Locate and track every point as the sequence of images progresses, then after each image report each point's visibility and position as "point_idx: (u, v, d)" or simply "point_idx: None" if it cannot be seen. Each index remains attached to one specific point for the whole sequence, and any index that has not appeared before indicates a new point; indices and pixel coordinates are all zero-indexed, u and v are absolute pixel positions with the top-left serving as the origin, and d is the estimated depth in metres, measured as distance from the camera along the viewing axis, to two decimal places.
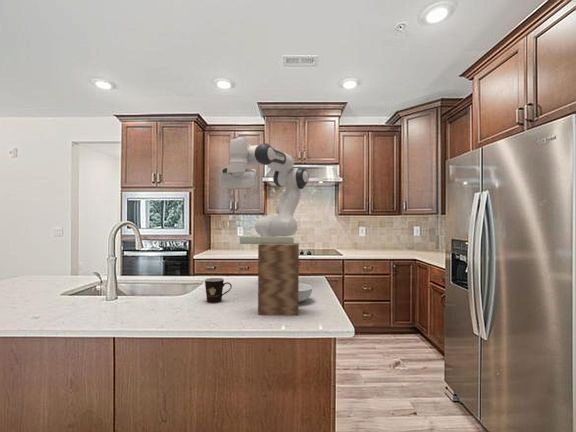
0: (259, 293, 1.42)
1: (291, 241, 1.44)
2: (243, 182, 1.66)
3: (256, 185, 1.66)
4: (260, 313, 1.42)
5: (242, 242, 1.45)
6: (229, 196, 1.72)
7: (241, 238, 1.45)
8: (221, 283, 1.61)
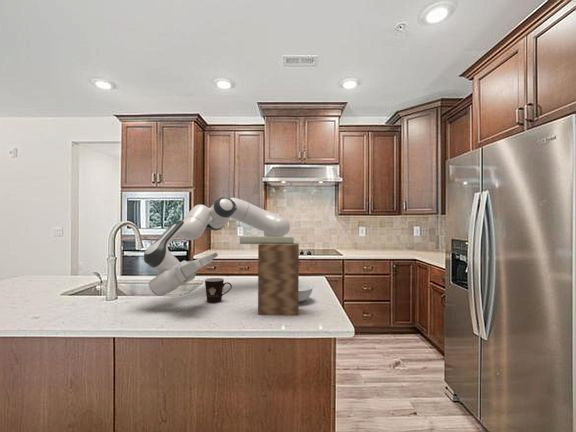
0: (259, 293, 1.42)
1: (291, 241, 1.44)
2: None
3: None
4: (260, 313, 1.42)
5: (242, 242, 1.45)
6: (207, 256, 1.43)
7: (241, 238, 1.45)
8: (221, 283, 1.61)
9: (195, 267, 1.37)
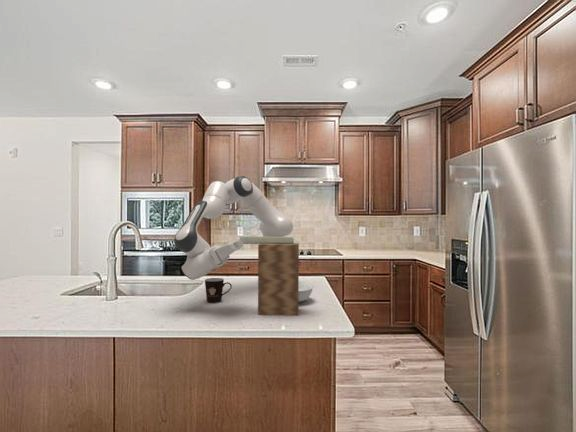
0: (259, 293, 1.42)
1: (291, 241, 1.44)
2: None
3: None
4: (260, 313, 1.42)
5: None
6: None
7: (241, 238, 1.45)
8: (221, 283, 1.61)
9: (231, 249, 1.37)
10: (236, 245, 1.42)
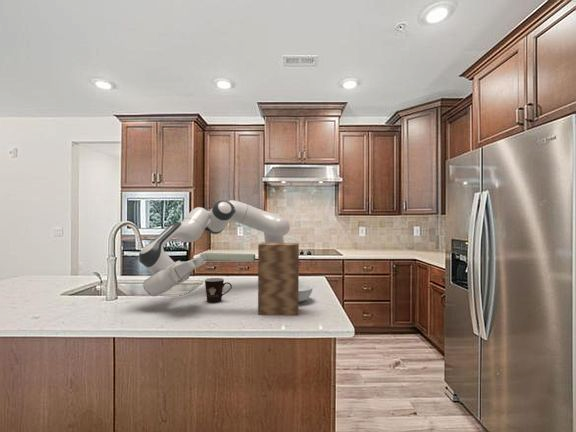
0: (259, 293, 1.42)
1: (251, 259, 1.44)
2: None
3: None
4: (260, 313, 1.42)
5: None
6: None
7: (202, 255, 1.45)
8: (221, 283, 1.61)
9: (189, 267, 1.37)
10: (196, 262, 1.43)
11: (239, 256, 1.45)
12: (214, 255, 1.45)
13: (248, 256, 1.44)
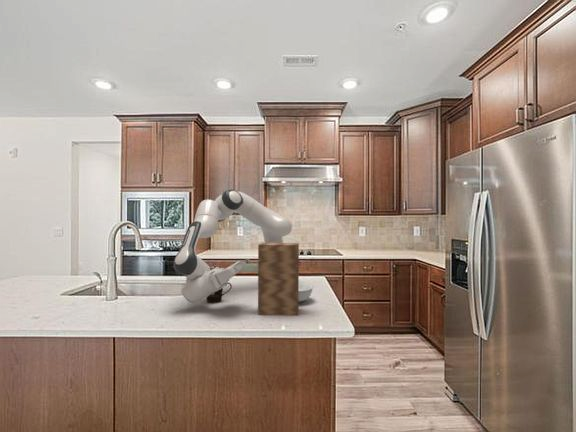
0: (259, 293, 1.42)
1: None
2: (231, 265, 1.51)
3: None
4: (260, 313, 1.42)
5: (242, 270, 1.45)
6: (241, 262, 1.42)
7: None
8: None
9: (231, 274, 1.37)
10: (235, 269, 1.40)
11: None
12: (253, 266, 1.44)
13: None
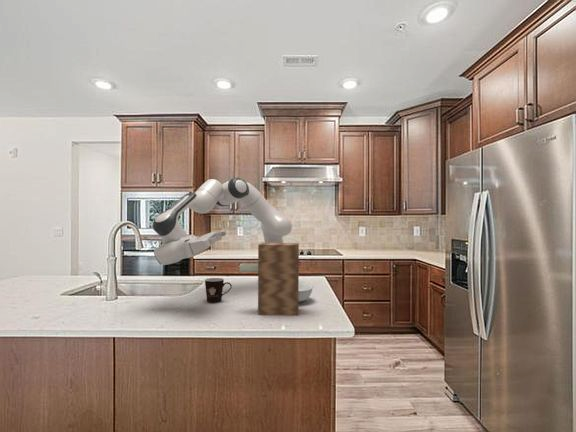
0: (259, 293, 1.42)
1: None
2: (207, 234, 1.52)
3: None
4: (260, 313, 1.42)
5: (242, 270, 1.45)
6: (217, 236, 1.43)
7: (241, 266, 1.45)
8: (221, 283, 1.61)
9: (205, 246, 1.38)
10: (210, 242, 1.41)
11: None
12: (253, 266, 1.44)
13: None
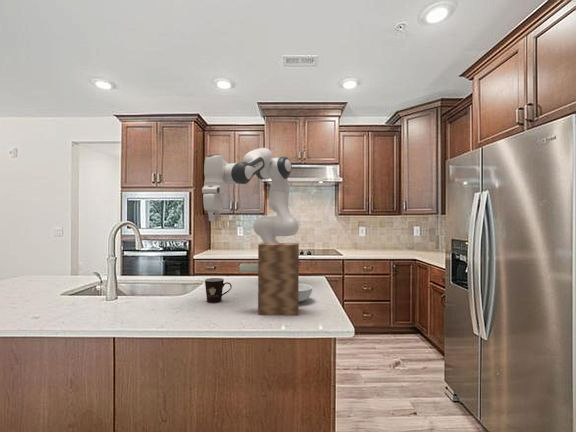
0: (259, 293, 1.42)
1: None
2: (220, 204, 1.63)
3: None
4: (260, 313, 1.42)
5: (242, 270, 1.45)
6: (213, 218, 1.54)
7: (241, 266, 1.45)
8: (221, 283, 1.61)
9: (206, 207, 1.49)
10: (209, 211, 1.53)
11: None
12: (253, 266, 1.44)
13: None
